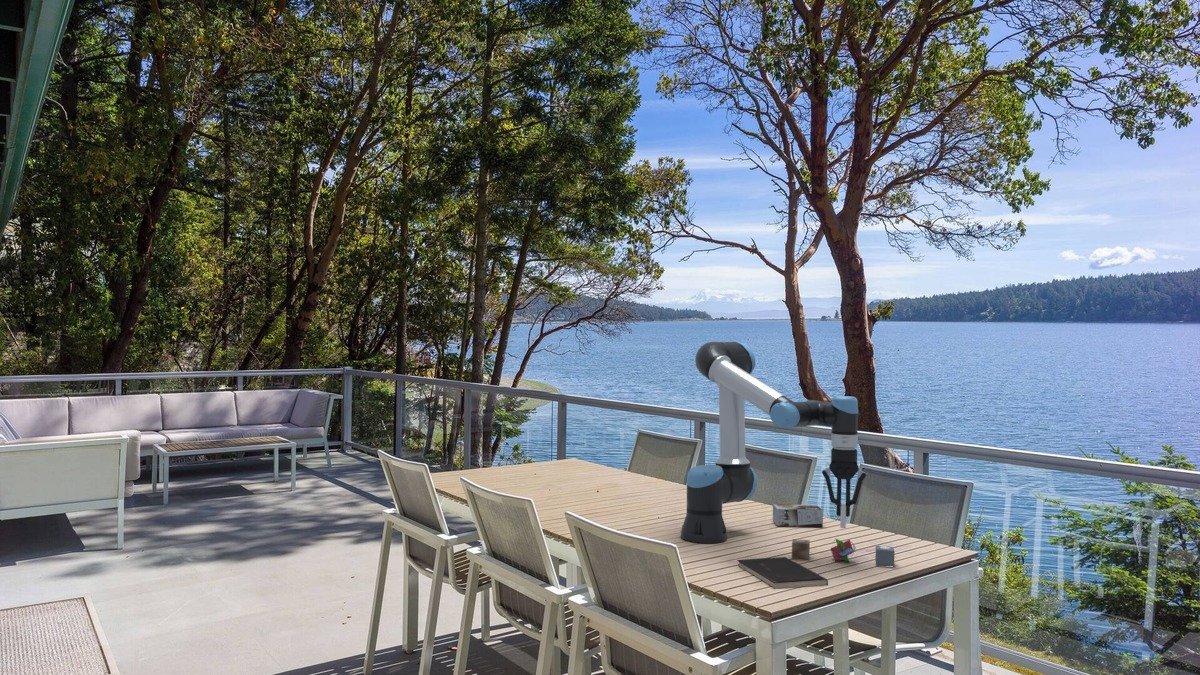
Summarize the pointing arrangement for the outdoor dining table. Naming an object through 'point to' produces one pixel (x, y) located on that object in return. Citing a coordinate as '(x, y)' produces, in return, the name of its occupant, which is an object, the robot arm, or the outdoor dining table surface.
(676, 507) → the outdoor dining table surface
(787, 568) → the hardcover book
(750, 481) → the robot arm
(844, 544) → the geometric puzzle
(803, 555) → the walnut dotted block
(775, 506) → the coffee box
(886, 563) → the charcoal dotted block
